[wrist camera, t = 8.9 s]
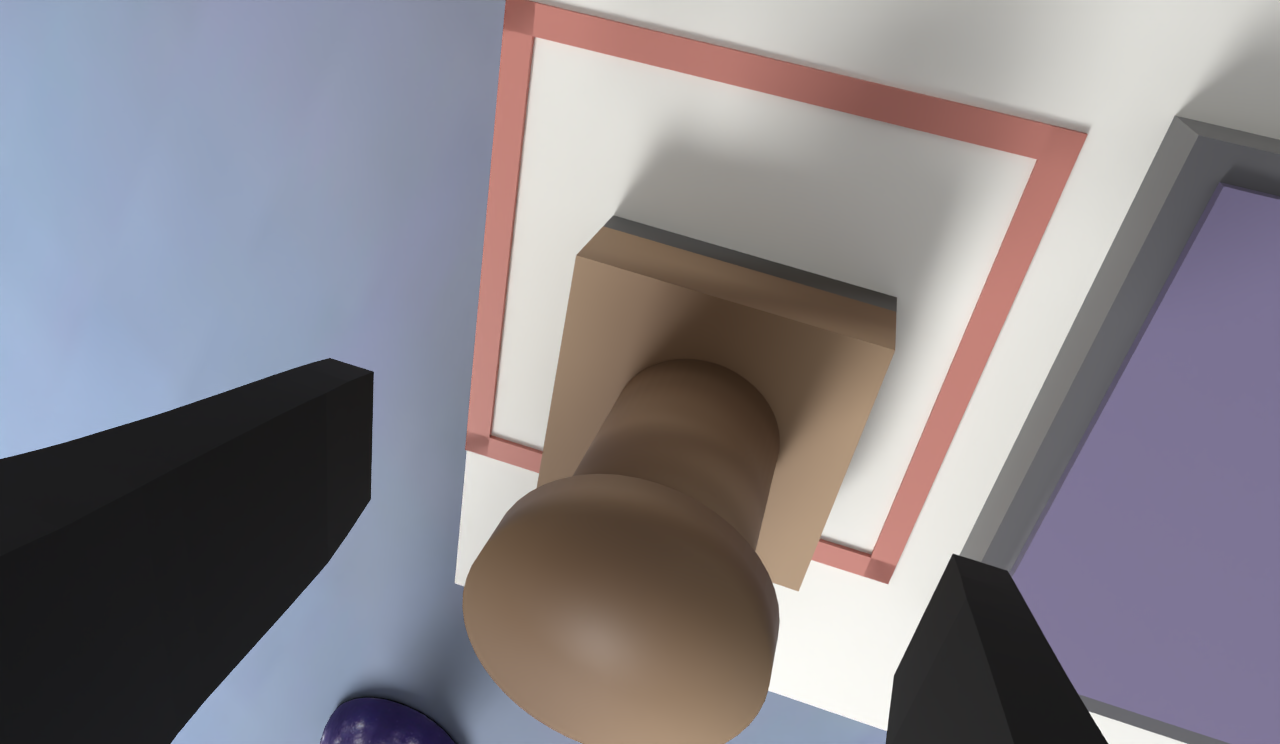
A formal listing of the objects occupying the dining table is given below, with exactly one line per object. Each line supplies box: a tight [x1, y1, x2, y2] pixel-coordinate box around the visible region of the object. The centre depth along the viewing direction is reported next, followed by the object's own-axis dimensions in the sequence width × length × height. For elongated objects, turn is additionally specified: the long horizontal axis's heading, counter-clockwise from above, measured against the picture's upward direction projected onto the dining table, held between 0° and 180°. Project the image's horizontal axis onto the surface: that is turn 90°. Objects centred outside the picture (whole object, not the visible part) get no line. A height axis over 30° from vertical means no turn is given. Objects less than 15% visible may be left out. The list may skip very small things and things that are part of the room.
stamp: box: [463, 215, 897, 744], centre depth 13 cm, size 5×5×7 cm
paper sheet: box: [455, 0, 1280, 744], centre depth 15 cm, size 18×17×1 cm
